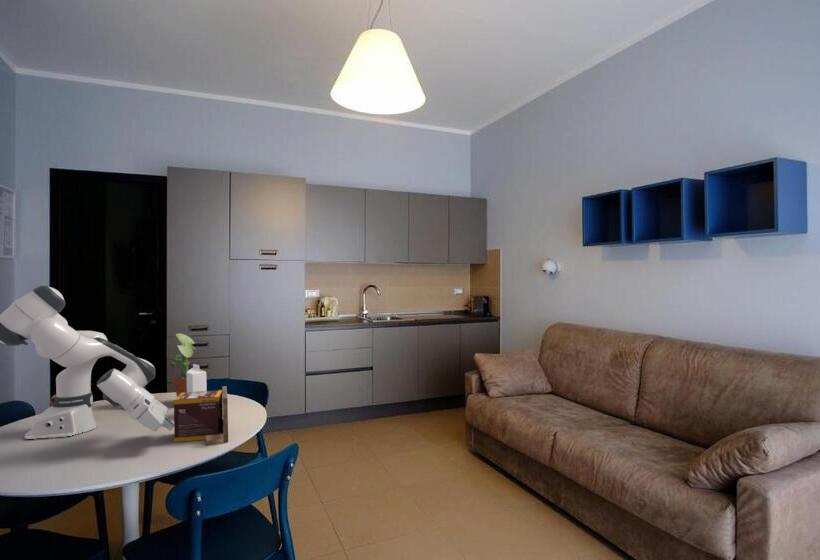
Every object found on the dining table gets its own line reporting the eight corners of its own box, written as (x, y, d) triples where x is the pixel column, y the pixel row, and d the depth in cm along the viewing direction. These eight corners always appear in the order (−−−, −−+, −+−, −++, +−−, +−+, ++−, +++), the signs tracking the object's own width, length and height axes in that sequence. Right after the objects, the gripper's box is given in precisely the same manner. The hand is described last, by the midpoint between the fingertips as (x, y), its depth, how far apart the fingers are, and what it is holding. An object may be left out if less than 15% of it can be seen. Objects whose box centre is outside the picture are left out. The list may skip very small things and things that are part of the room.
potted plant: (163, 407, 216) (161, 330, 216) (189, 398, 231) (187, 326, 230) (190, 410, 211) (188, 332, 210) (215, 401, 225) (213, 327, 224)
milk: (193, 419, 200) (191, 366, 199) (187, 416, 204) (185, 364, 203) (207, 415, 204) (206, 364, 203) (201, 412, 208) (200, 362, 207)
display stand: (206, 445, 170) (205, 400, 169) (207, 428, 187) (206, 388, 187) (228, 442, 172) (227, 398, 172) (227, 426, 190) (226, 386, 190)
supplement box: (219, 438, 176) (218, 396, 176) (174, 442, 173) (173, 399, 172) (223, 429, 186) (223, 389, 186) (181, 432, 183) (180, 392, 182)
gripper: (139, 403, 179) (169, 426, 183) (129, 419, 160) (162, 444, 164) (152, 390, 181) (181, 413, 184) (144, 404, 162) (176, 429, 165)
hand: (172, 427), depth 174 cm, fingers closed
